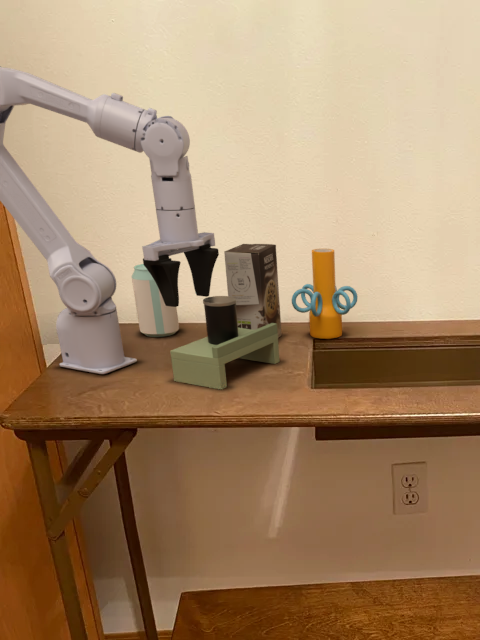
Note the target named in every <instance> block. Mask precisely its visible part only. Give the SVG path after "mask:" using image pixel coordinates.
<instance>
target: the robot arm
mask: <svg viewBox="0 0 480 640" xmlns="http://www.w3.org/2000/svg"><path fill="white" fill-rule="evenodd" d="M26 105H33V106H36V107H39V108H41V109H44V110H47V111H50V112H53V113H56V114H60V115H62V116H66V117H68V118H71V119H73V120H77V121H80V122H83V123H86V124H87V125H88V126H89V128H90V129H91V131H92V133H93V135H94V136H95V137H97V138H99V139H102V140H104V141H107V142H110V143H112V144H114V145H118V146H121V147H123V148H125V149H127V150H128V149H129V150H131V151H134V152H137V153H139V154H142V153H143V152H144V154H145V155H146V157H147V158H148V159H149V160H148V161H149V166H150V167H149V168H150V174H151V175H150V179H151V187H152V193H153V198H154V199H153V200H154V206H155V214H156V221H157V227H158V234H159V239H158V240H156V241H153V242H151V243H149V244H146V245H142V246H141V248H142V255H143V258H142V264H144V266H145V267H146V269H147V270H148V271H149V273H150V274H151V275H152V277H153V279H154V280H155V282H156V284H157V286H158V288H159V291H160V293H161V295H162V298H163V300H164V303H165V305H166V306H171V307H179V306H180V305H179V304H180V296H179V294H180V293H179V284H178V283H179V272H180V268H181V261H180V260H172V258H171V257H170V256H174V255H179V254H184V256H185V259H186V261H187V263H188V266H189V268H190V269H189V270H190V273H191V277H192V283H193V288H194V292H195V294H196V297H205V298H208V297H210V292H211V284H212V278H213V272H214V268H215V264H216V262H217V260H218V258H219V256H220V255H219V254H220V253H219V252H220V251H219V248H215V246H216V238H215V233H214V232H205V231H203V232H199V230H198V221H197V213H196V205H195V196H194V188H193V179H192V174H191V172H190V171H191V170H190V162H189V156H188V155H187V153H188V152H189V149H190V145H191V140H190V135H189V132H188V130H187V128H186V127H185V126H184V125H183V123H182V122H180V121H179V120H177V119H175V118H174V117H173V116H171V115H163V116H159V117H158V115H157V114H158V111H157V109H154V108H152V107H148V108H147V109H145V108H142V107H140V106H137V105H135V104H132V103H129V102H127V101H124V96H123V95H122V94H119V93H116V92H112V93H111V94H110V95H108V94H107V93H102V94H100V95H99V96H97V97H95V98H94V99H92V98H89V97H87V96H85V95H83V94H80V93H77V92H76V91H73V90H70V89H68V88H65V87H63V86H60V85H58V84H56V83H53V82H51V81H48V80H47V79H44V78H42V77H39V76H37V75H34V74H33V73H30V72H27V71H23V70H20V69H16V68H11V67H6V66H5V67H2V66H1V65H0V202H1V204H2V205H3V206H4V207H5V209H6V210H7V212H8V213H9V214H10V215H11V216H12V218H13V219H14V220H15V221H16V223H17V224H18V225H19V228H21V230H23V232H24V234H26V235H27V237H28V238H29V240H30V241H31V242H32V244H33V245H34V246H35V248H37V250H38V251H39V253H41V255H42V256H43V257H44V259H45V260H46V263H47V267H48V268H47V269H48V274H49V277H50V278H51V280H52V281H53V282H54V284H55V286H56V288H57V291H58V295H59V298H60V300H61V302H62V304H63V306H65V307H66V308H63V309H62V310H61V311H60V312H59V313H58V315H57V318H56V322H55V323H56V324H55V330H56V333H57V339H58V343H59V348H60V354H61V358H62V362H60V363H58V364H59V365H58V366H59V367H61V368H66V369H72V370H77V371H82V372H86V373H87V372H89V373H92V374H99V375H106V374H108V373H111V372H115V371H117V370H119V369H122V368H124V367H127V366H129V365H133V364H135V363H137V362H138V359H137V358H135V357H128V356H125V351H124V346H123V340H122V339H123V338H122V334H121V327H120V322H119V317H118V316H119V315H118V311H117V310H118V309H117V305H116V303H115V302H114V301H113V298H112V297H113V296H114V295H115V293H116V291H117V279H116V276H115V274H114V272H113V271H112V269H111V268H110V267H109V266H108V265H106V264H105V263H103V262H101V261H99V260H98V259H97V258H96V257H95V256H94V255H93V253H92V252H91V251H90V250H89V249H87V248H86V247H85V246H83V245H81V244H80V243H79V242H77V241H76V239H75V238H74V237H73V235H72V234H71V233H70V231H69V230H68V229H67V228H66V226H65V225H64V223H63V222H62V221H61V220H60V218H59V217H58V216H57V214H56V213H55V211H54V210H53V209H52V207H51V206H50V205H49V203H48V201H46V200H45V198H44V197H43V195H42V194H41V193H40V192H39V190H38V189H37V188H36V186H35V184H33V182H32V181H31V180H30V178H29V177H28V176H27V174H26V173H25V172H24V170H23V169H22V167H21V166H20V165H19V163H18V162H17V161H16V160H15V159H14V157H13V155H12V154H11V153H10V151H9V150H8V149H7V147H6V146H5V144H4V137H5V129H6V123H7V121H8V120H9V118H10V115H11V114H12V111H13V110H14V108H15V106H26Z"/></svg>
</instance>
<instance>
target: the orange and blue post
mask: <svg viewBox="0 0 480 640" xmlns="http://www.w3.org/2000/svg"><path fill="white" fill-rule="evenodd" d="M335 254H336V253H335V249H332V248H314V249H311V262H312V263H311V265H312V284H311V283H305V284H304V285H303V286H302V287H301V288H298V289H297V290H296V291H294V293H293V294H292V296H291V305H292V307H293V309H294V310H295V311H296V312H298V313H304V314H305V313H308V320H309V322H308V323H309V334H310V336H311V337H312V338H315V339H320V340H331V339H333V340H334V339H338V338H339V337H342V336H343V315H344V316H345V315H347V314H348V313H349V312H350V310H351V309H353V308H354V307H355V306H356V305H357V302H358V292H357V291H356V289H355V288H354V287H352V286H351V285H343V286H341V287H340V288H338V289H337V285H336V260H335V259H336V258H335V257H336V256H335ZM345 291H348V292H350V293H351V294H352V298H353V299H352V301H351V299H350V296H349V295H348V293H347V292H345ZM306 295H308V297H309V299H310V301H308V300H307V297H306ZM298 296H300V298H301V301H302V303H303V304H304V306H306V307H303V308H302V307H300V306H299V305H298V304H297V298H298ZM340 296H342V297H343V298H344V301H345V304H342V303H341V301H340Z"/></svg>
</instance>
